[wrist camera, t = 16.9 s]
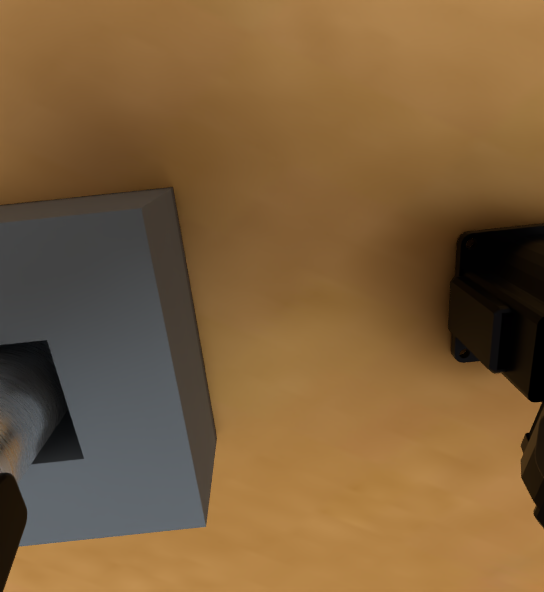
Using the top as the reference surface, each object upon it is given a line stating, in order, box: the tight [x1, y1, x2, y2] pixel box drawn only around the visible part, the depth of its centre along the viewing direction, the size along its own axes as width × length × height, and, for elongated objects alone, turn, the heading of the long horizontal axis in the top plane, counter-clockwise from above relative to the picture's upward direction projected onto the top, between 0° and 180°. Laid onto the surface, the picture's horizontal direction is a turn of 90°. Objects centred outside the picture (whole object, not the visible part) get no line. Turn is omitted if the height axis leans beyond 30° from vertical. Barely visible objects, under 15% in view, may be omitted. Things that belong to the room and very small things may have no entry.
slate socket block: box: [0, 187, 217, 547], centre depth 18 cm, size 13×13×6 cm
